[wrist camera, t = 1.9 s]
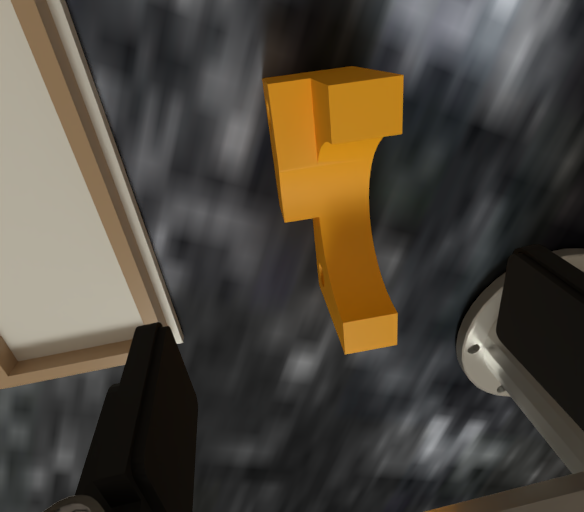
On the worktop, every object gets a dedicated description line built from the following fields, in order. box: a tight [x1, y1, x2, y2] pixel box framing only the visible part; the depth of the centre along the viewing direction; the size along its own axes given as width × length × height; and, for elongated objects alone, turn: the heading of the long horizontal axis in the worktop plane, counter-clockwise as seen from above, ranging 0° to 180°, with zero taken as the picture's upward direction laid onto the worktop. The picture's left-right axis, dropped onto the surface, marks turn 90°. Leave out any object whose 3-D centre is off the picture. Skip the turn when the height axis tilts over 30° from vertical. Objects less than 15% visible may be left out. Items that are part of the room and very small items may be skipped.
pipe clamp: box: [262, 66, 403, 354], centre depth 19 cm, size 12×4×6 cm, turn 7°
